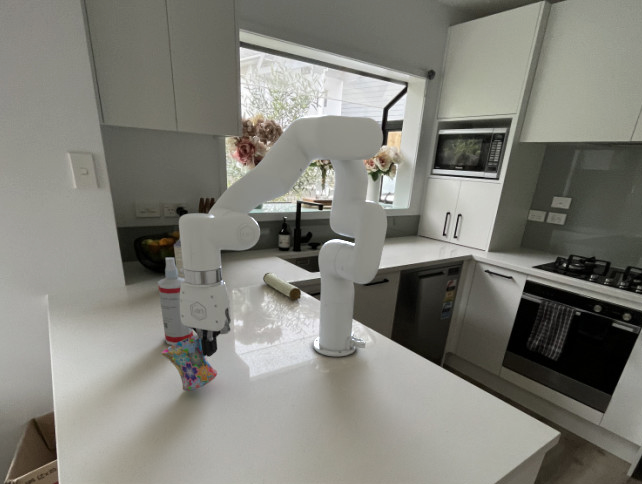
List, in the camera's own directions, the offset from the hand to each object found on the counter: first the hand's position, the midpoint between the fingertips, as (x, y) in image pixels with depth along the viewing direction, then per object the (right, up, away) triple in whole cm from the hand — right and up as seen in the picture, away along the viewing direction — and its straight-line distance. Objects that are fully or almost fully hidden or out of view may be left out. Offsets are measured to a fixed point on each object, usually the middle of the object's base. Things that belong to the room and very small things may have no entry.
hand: (209, 353), depth 85 cm
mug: (-3, -7, +4) cm, 9 cm away
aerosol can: (-34, +24, +79) cm, 89 cm away
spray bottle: (-17, +2, +28) cm, 33 cm away
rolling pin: (+8, +20, +73) cm, 76 cm away
